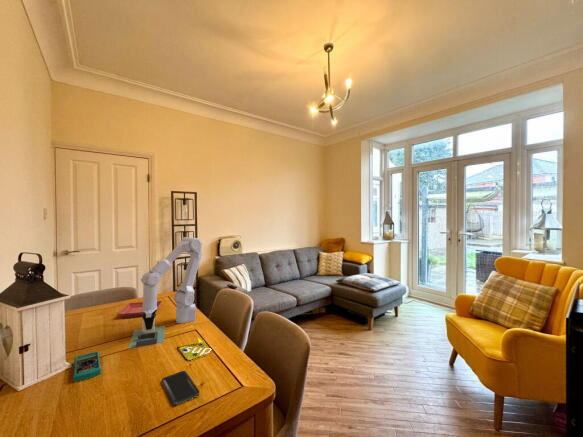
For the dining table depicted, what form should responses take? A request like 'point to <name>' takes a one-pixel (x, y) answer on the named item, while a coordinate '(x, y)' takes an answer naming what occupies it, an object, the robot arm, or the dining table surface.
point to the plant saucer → (134, 310)
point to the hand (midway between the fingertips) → (149, 327)
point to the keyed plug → (145, 327)
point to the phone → (180, 387)
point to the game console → (194, 350)
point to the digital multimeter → (86, 366)
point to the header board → (147, 337)
